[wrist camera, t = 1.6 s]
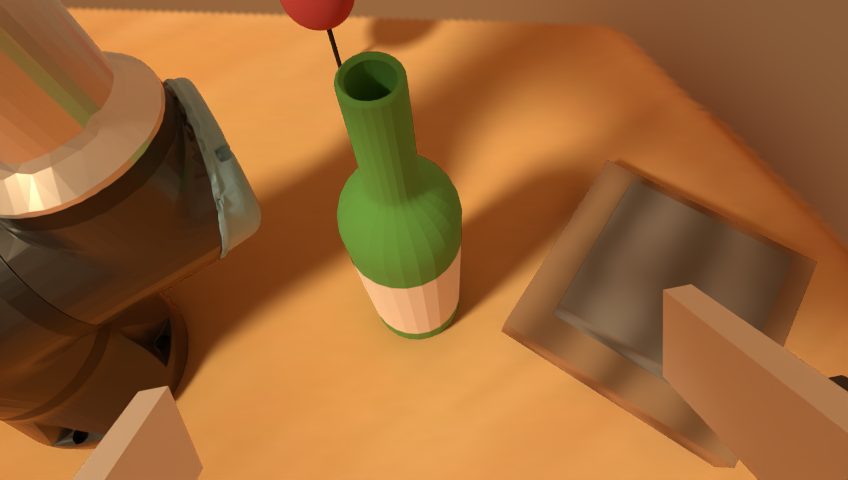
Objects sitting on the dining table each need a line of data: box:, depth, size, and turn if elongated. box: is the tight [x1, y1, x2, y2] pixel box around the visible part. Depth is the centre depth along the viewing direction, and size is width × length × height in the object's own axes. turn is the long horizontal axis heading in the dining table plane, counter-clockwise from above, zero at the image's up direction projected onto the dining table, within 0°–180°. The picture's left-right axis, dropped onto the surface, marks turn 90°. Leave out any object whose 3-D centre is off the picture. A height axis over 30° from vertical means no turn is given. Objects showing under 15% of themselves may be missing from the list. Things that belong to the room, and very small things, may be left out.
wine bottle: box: [334, 51, 462, 339], centre depth 32 cm, size 8×8×30 cm
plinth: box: [502, 160, 817, 468], centre depth 42 cm, size 20×20×6 cm
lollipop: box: [280, 0, 354, 68], centre depth 52 cm, size 8×8×15 cm
